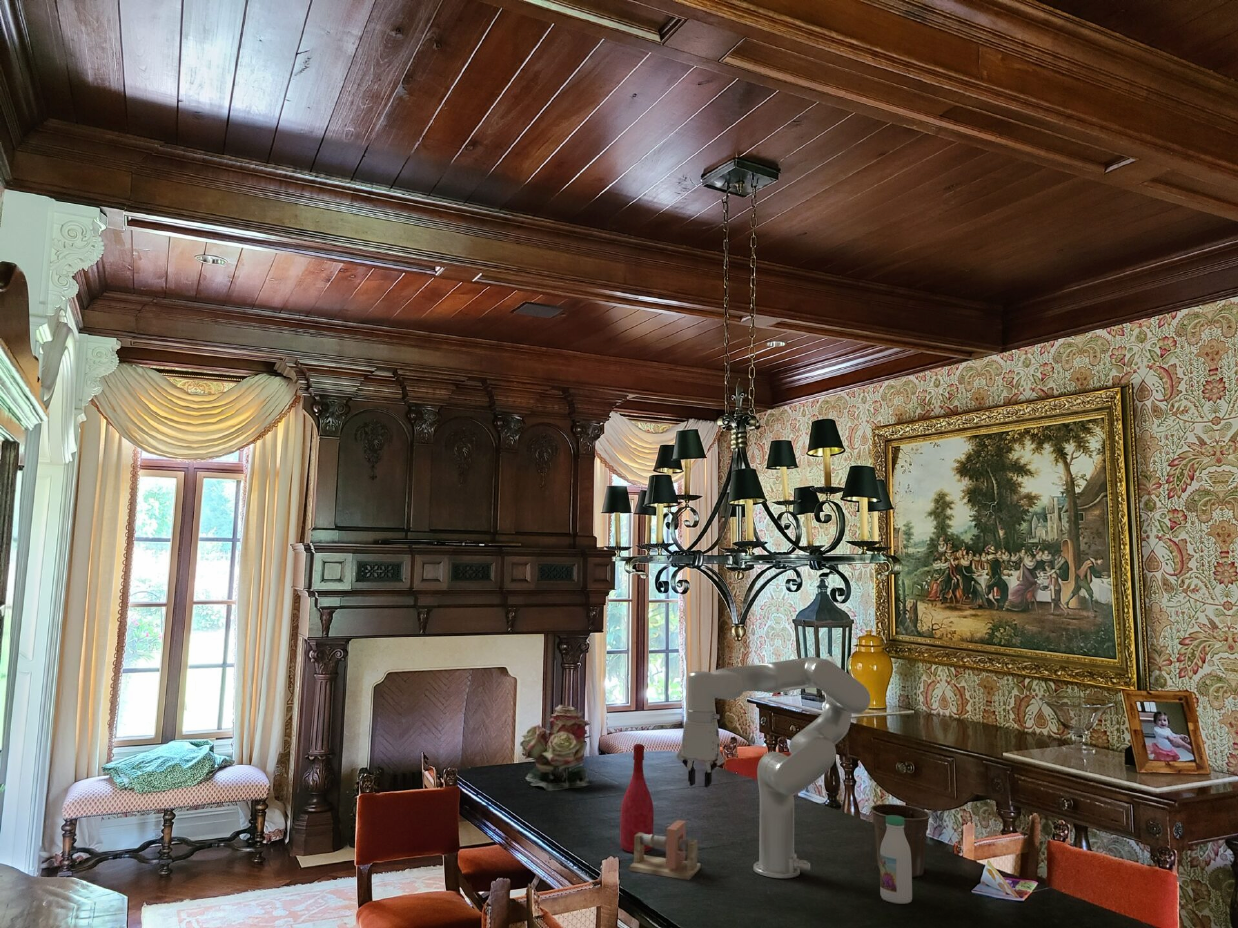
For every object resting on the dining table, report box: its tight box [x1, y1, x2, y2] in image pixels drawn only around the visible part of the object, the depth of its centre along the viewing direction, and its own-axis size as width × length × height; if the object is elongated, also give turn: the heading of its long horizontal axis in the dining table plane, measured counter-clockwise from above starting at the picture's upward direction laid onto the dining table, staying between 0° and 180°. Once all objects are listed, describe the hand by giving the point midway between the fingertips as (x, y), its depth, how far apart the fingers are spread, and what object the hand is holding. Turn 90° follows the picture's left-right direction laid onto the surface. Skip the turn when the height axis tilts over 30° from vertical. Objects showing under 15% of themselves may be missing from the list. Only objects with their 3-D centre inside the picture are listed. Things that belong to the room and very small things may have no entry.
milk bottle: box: [879, 815, 913, 905], centre depth 220 cm, size 8×8×20 cm
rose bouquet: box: [519, 704, 591, 791], centre depth 338 cm, size 26×29×30 cm
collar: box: [665, 819, 687, 869], centre depth 236 cm, size 2×10×10 cm, turn 159°
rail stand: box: [628, 832, 701, 881], centre depth 237 cm, size 17×11×9 cm, turn 69°
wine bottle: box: [619, 743, 655, 854], centre depth 256 cm, size 10×10×30 cm
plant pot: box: [870, 803, 932, 878], centre depth 242 cm, size 16×16×16 cm
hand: (699, 784), depth 236 cm, fingers open, 3 cm apart
